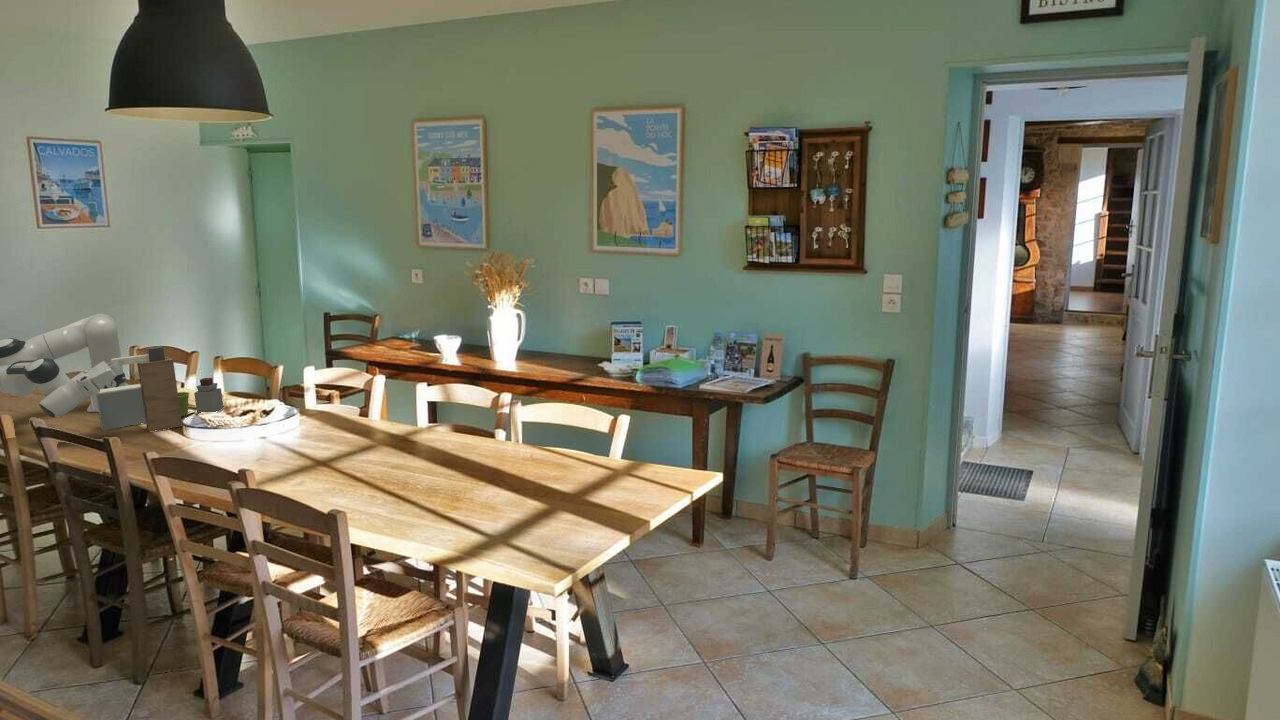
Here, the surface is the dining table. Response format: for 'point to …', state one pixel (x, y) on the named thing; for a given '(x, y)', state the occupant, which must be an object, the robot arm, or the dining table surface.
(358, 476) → the dining table surface
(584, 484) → the dining table surface
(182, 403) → the plant pot
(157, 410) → the walnut stand
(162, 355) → the mallet
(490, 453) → the dining table surface
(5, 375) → the robot arm
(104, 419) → the notepad block
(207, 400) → the perfume bottle
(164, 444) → the dining table surface
